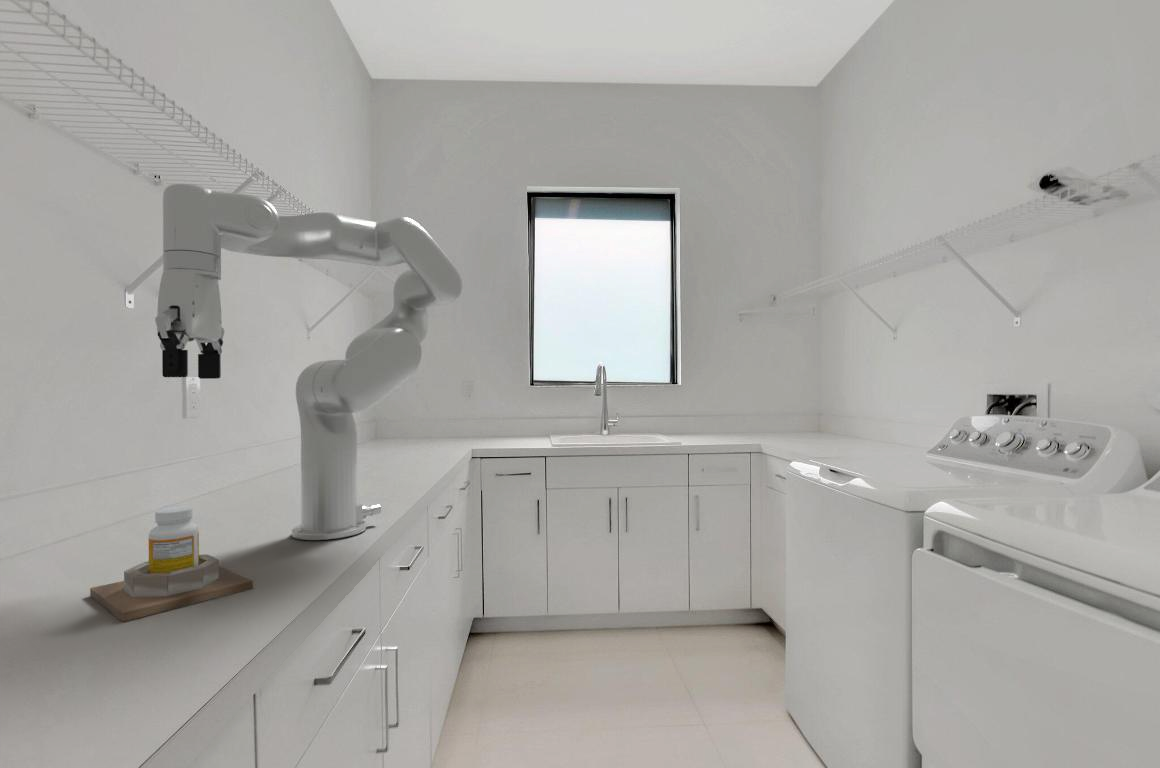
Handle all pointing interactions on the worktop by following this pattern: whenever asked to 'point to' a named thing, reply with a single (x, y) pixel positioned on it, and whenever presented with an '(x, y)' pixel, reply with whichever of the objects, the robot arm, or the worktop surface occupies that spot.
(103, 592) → the ring socket
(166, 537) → the supplement bottle
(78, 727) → the worktop surface
